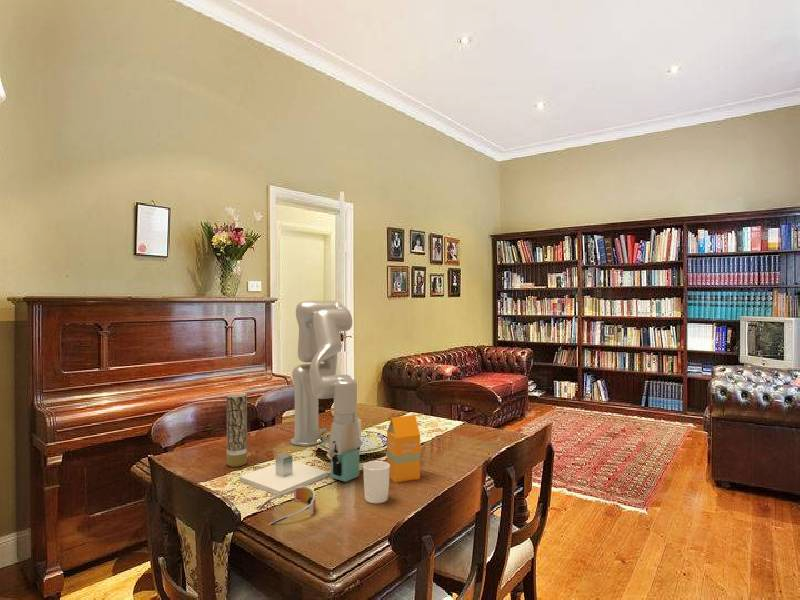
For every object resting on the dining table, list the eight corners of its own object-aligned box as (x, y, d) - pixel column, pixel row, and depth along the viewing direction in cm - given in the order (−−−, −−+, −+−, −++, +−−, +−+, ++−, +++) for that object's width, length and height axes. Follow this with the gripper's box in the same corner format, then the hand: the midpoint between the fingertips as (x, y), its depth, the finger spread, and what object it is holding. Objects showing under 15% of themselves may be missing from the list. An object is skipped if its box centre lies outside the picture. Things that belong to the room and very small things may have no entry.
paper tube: (240, 468, 170) (240, 396, 169) (222, 466, 171) (222, 395, 171) (250, 461, 176) (250, 392, 176) (233, 460, 178) (233, 391, 178)
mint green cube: (344, 471, 165) (344, 445, 165) (359, 475, 162) (359, 449, 161) (330, 477, 160) (330, 450, 160) (345, 481, 156) (345, 455, 156)
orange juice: (386, 474, 165) (386, 415, 164) (410, 470, 168) (410, 412, 168) (395, 482, 157) (395, 420, 157) (420, 478, 161) (420, 417, 161)
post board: (287, 463, 174) (287, 459, 174) (327, 476, 162) (327, 471, 162) (239, 480, 158) (239, 476, 158) (280, 496, 146) (280, 491, 146)
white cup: (379, 506, 140) (380, 471, 139) (357, 500, 144) (357, 466, 144) (394, 497, 146) (394, 463, 146) (373, 491, 150) (373, 458, 150)
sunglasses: (325, 514, 135) (323, 496, 135) (272, 536, 127) (269, 518, 127) (305, 496, 147) (303, 480, 147) (255, 515, 139) (253, 498, 138)
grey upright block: (284, 471, 163) (284, 453, 163) (292, 473, 161) (292, 455, 161) (275, 474, 160) (275, 456, 160) (283, 477, 158) (283, 458, 158)
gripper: (354, 410, 170) (354, 461, 170) (317, 421, 156) (317, 477, 156) (371, 413, 165) (370, 466, 166) (335, 425, 151) (334, 482, 152)
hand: (344, 471), depth 161 cm, fingers closed on mint green cube, 6 cm apart
